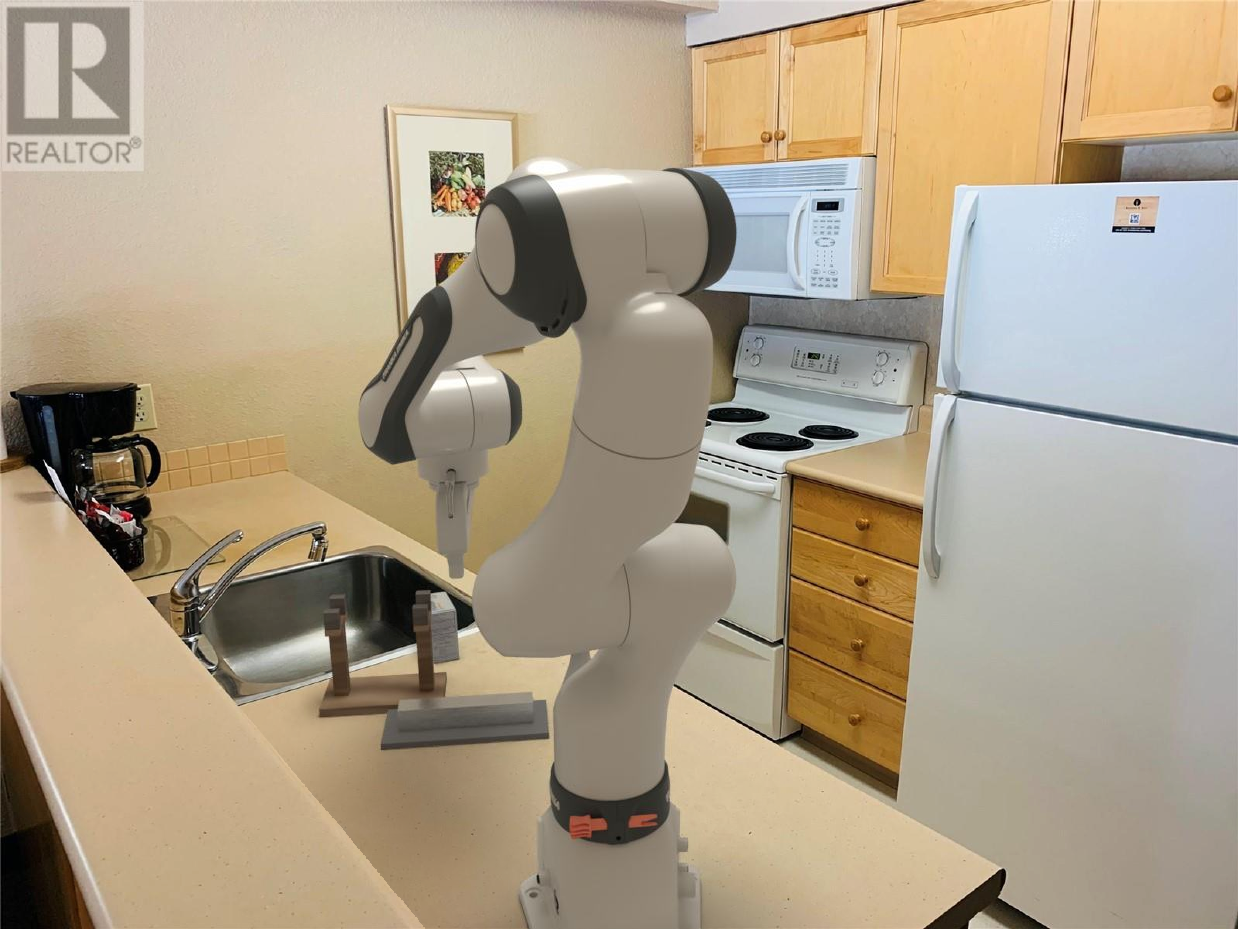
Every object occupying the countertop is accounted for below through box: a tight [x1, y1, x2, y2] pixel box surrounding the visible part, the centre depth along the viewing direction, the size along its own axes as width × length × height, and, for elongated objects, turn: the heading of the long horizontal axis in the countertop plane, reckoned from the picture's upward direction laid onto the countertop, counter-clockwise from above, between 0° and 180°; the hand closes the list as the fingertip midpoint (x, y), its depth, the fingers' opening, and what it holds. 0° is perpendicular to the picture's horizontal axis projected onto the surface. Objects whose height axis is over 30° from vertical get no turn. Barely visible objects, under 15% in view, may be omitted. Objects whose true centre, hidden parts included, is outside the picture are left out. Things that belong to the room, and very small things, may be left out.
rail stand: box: [318, 589, 448, 718], centre depth 136 cm, size 9×17×15 cm, turn 97°
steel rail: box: [397, 691, 534, 731], centre depth 130 cm, size 3×18×3 cm, turn 97°
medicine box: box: [431, 591, 460, 664], centre depth 151 cm, size 8×4×9 cm, turn 22°
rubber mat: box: [380, 699, 550, 750], centre depth 131 cm, size 9×22×1 cm, turn 97°
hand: (458, 563), depth 124 cm, fingers open, 8 cm apart
